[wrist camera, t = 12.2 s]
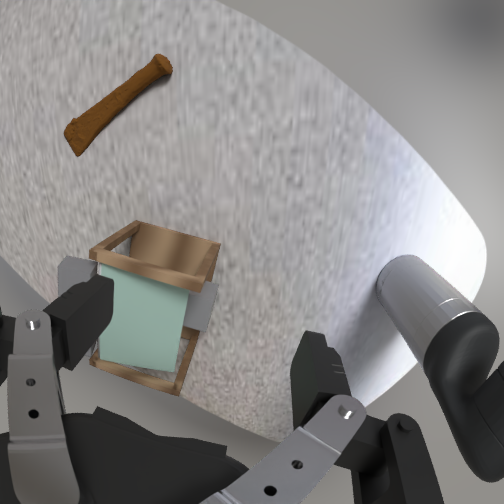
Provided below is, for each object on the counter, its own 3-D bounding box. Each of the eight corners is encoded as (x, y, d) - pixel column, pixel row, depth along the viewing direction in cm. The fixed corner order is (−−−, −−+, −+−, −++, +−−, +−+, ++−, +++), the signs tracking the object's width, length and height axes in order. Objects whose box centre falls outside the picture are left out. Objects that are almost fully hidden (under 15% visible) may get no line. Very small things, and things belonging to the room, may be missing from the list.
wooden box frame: (220, 243, 42) (202, 284, 29) (197, 339, 47) (178, 396, 35) (135, 220, 41) (89, 249, 29) (124, 316, 46) (89, 364, 34)
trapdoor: (191, 271, 34) (191, 284, 32) (174, 362, 39) (174, 377, 36) (67, 247, 30) (57, 257, 28) (69, 341, 35) (63, 355, 32)
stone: (185, 274, 43) (218, 284, 43) (179, 304, 44) (211, 313, 45) (175, 290, 38) (213, 301, 38) (170, 321, 40) (205, 332, 40)
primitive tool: (79, 157, 39) (65, 159, 35) (63, 131, 37) (50, 131, 34) (179, 73, 35) (171, 66, 31) (159, 46, 33) (151, 38, 30)
